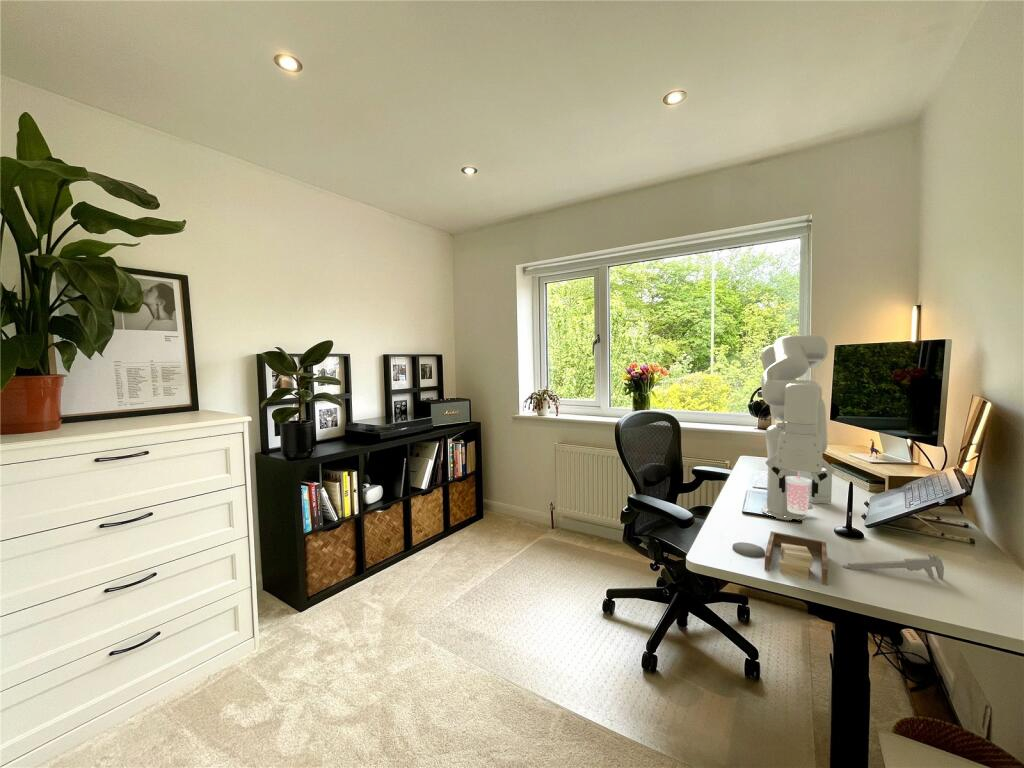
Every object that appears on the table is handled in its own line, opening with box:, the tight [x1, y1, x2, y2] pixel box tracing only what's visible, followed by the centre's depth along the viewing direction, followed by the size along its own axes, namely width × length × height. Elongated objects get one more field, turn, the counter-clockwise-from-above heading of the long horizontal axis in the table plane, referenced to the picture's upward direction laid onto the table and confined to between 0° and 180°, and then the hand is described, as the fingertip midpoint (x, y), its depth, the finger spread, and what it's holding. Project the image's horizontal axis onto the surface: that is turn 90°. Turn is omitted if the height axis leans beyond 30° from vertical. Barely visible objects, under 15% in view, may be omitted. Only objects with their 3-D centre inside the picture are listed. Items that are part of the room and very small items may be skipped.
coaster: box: [732, 541, 766, 558], centre depth 119 cm, size 8×8×1 cm
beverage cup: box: [785, 472, 812, 515], centre depth 114 cm, size 6×6×14 cm
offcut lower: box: [779, 556, 811, 580], centre depth 107 cm, size 6×6×3 cm
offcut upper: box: [780, 543, 813, 569], centre depth 107 cm, size 6×6×3 cm
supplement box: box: [800, 467, 833, 504], centre depth 159 cm, size 7×7×13 cm
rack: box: [763, 531, 829, 586], centre depth 111 cm, size 18×13×4 cm
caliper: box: [842, 553, 945, 580], centre depth 106 cm, size 20×1×6 cm, turn 72°
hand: (798, 492), depth 114 cm, fingers closed on beverage cup, 6 cm apart
